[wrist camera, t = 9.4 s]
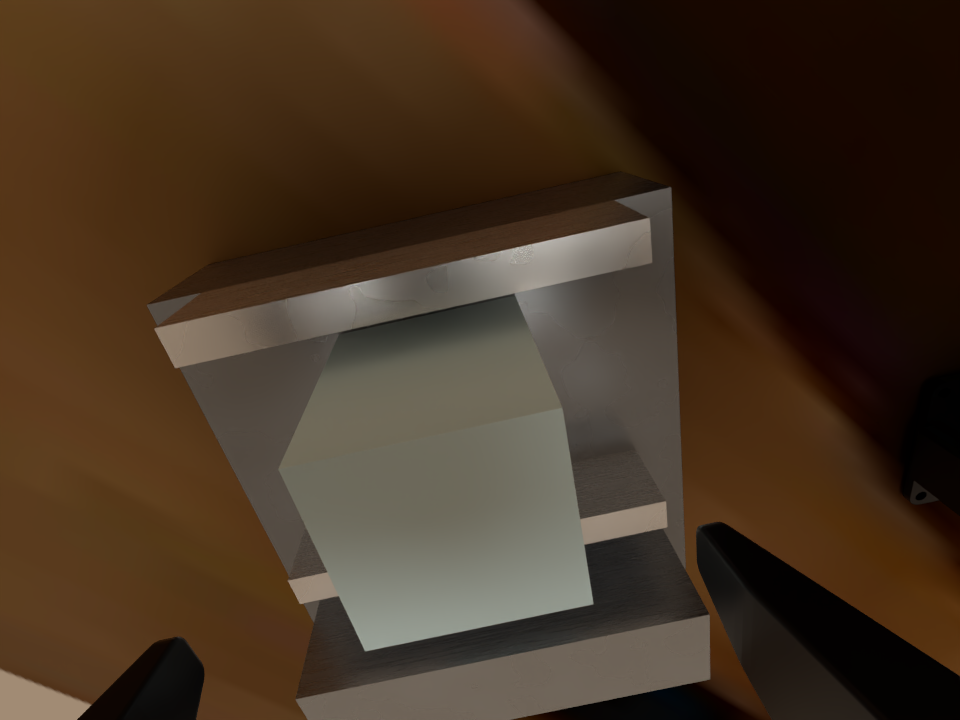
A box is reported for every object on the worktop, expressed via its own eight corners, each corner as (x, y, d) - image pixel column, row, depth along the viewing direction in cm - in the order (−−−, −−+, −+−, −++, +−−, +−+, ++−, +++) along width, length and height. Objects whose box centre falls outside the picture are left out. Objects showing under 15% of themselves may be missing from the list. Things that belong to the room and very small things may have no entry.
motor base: (621, 171, 17) (758, 214, 10) (646, 496, 23) (742, 673, 16) (207, 264, 17) (40, 374, 10) (342, 561, 23) (298, 762, 16)
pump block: (514, 295, 14) (562, 407, 9) (542, 442, 16) (593, 604, 11) (339, 334, 14) (278, 469, 9) (389, 474, 16) (365, 651, 11)
